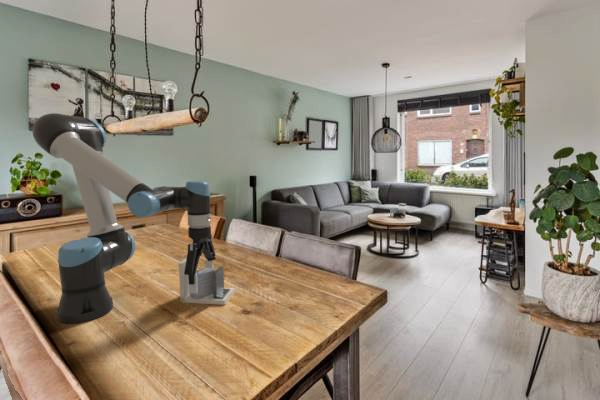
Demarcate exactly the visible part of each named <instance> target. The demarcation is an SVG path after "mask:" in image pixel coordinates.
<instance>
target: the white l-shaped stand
mask: <svg viewBox="0 0 600 400" xmlns="http://www.w3.org/2000/svg"><path fill="white" fill-rule="evenodd" d="M186 259H187V257H186V258H184V259H183V260H182V261H179V263H178V274H179V277H178V278H179V291H180V292H179V295H180V297H179V299H180V303H185V304H187V303H189V304H203V305H204V304H205V305H206V304H207V305H221V306H222V305H224V306H225V305H227V303H228V302H229V300H230V299H231V298H232V296H234V294H235V292H236V288H235V287H224V289H230V291H229V292H228V294H227V295H226V296H225V297H224V298H223V299H217V298H214V295H213V293H212V294H209V295H207V296H204V297H201V298H199V299H194V298H192V297H190V294H189V280H188V275H184V271H185V265H186ZM197 270H198V269H197ZM197 270H196V271H197Z"/></svg>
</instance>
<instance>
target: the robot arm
mask: <svg viewBox="0 0 600 400" xmlns="http://www.w3.org/2000/svg"><path fill="white" fill-rule="evenodd" d="M32 136H33V139H34V140H35V142H36V144H37V145H38V146H39V148H41V149H43V151H45V152H46V153H48V154H49V155H50V156H51V157H53V158H55V159H63V160H64V161H65V162H66V163H68V164H69V165H72V170H73V173H74V176H75V180H76V184H77V187H78V190H79V194H80V197H81V201H82V205H83V207H84V212H85V214H86V215H85V216H86V217H87V218H86V219H87V222H88V225H89V229H90V230H89V232H88V233H87V234H86V236H87V237H81V238H79V239H74V240H71V241H68V242H66V243H64V244H62V245H61V246H60V247H59V249H58V252H57V255H58V258H57V263H58V270H59V278H60V279H59V280H60V286H61V297H60V300H59V305H58V308H57V310H56V316H57V321H58V322H60V323H63V324H79V323H85V322H88V321H92V320H95V319H98V318H101V317H103V316H105V315H107V314H109V313H110V312H111V311H112V309H113V308H114V300H113V297H112V296H111V295H110V292H109V290H108V288H107V285H106V279H105V277H106V276H105V273H106V272H108V271H110V270H112V269H115V268H116V267H119V266H122V265H123V264H125V263H126V262H127V261H129V260H130V259H131V258H132V257H133V256H134V253H135V251H136V241H135V238H134V237H133V236H132V235H131V234H130V233H129V232H128V231H126V229H125V227H124V225H122V224H120V223H118V219H117V216H116V213H115V212H116V211H115V208H114V205H113V201H112V198H111V194H110V192H111V193H112V194H114V195H115V196H117V197H118V198H119V199H121V200H123V201H124V202H126V203H127V207H128V209H129V211H130V213H131V214H132V215H134V216H135V217H138V218H145V217H152V216H154V215H157V214H159V213H162V212H166V211H169V210H172V209H173V210H174V209H177V210H179V209H180V210H181V209H182V210H185V209H186V211H187V212H186V213H187V226H188V228H187V229H188V231H187V233H188V235H187V236H188V238H190V239H191V240H192V243H188V244H187V256H186V258H187V259H186V258H185V259H186V265H185V271H184V275H188V280H189V293H198V285H197V274H195V273H196V270H198V266H199V262H200V257H202V255H203V256H204V257H205V262H204V263H205V266H204V267H205V268H207V267H208V268H211V269H213V270H214V261H216V251H215V247H214V245H213V240H212V226H211V224H212V221H211V220H212V218H213V217H212V216H211V192H210V184H209V182H208V181H207V180H206V181H205V180H191V181H187V182H186V184H185V186H167V185H166V186H165V185H164V186H163V185H162V186H155V187H154V188H151V187H150V186H148V185H146V184H145V183H144V182H143V181H141V180H139V179H138V178H136V177H135V176H133V175H132V174H130V173H129V172H128V171H126V170H124V169H123V168H122V167H120V166H119V165H118V164H117V163H115V162H113V161H112V160H110V159H109V158H108V157H106V156H105V155H103V154H104V150H103V148H104V147H105V143H106V142H107V135H106V131H105V130H104V128H103V127H102V126H101V124H100V123H99V122H97V121H96V120H93V119H91V118H88V117H84V116H75V115H67V114H61V113H55V112H53V113H47V114H44V115H42V116H40V117H38V118H37V119H36V121H35V122H34V123H33V126H32Z"/></svg>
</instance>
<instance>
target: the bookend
mask: <svg viewBox="0 0 600 400" xmlns="http://www.w3.org/2000/svg"><path fill="white" fill-rule="evenodd" d="M224 276H225V274H224V266H219V267H218V268H217V269H216V270H215V272H214V273H213V295H214V298H217V299H223V298H224V297H225V296H226V295H227V294H228V292H229V291H230V289H224V288H225V280H224V279H225V278H224Z"/></svg>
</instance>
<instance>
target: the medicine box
mask: <svg viewBox="0 0 600 400" xmlns="http://www.w3.org/2000/svg"><path fill="white" fill-rule="evenodd" d="M215 271H216V270H215V269H214V268H213V269H211V268H208V267H207V268H206V267H205V268H204V267H203V268H201V269H197V271H196V273H195V274H197V285H198V293H189V294H190V297H192V298H194V299H199V298H201V297H204V296H207V295H209V294H212V293H213V273H214V272H215Z"/></svg>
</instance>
